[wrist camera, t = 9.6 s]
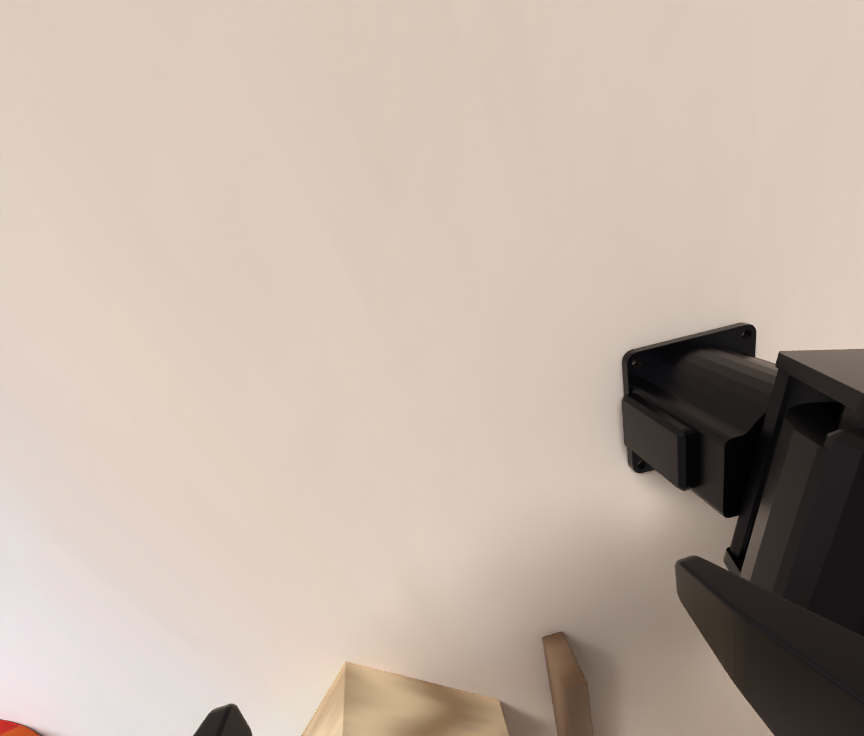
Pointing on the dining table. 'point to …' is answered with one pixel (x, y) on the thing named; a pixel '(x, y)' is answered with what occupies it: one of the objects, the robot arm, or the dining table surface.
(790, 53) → the dining table surface
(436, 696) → the cream rectangular block
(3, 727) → the paper cup
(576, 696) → the brown angled piece
